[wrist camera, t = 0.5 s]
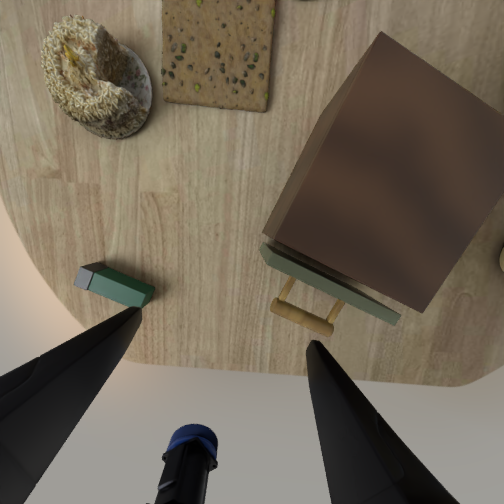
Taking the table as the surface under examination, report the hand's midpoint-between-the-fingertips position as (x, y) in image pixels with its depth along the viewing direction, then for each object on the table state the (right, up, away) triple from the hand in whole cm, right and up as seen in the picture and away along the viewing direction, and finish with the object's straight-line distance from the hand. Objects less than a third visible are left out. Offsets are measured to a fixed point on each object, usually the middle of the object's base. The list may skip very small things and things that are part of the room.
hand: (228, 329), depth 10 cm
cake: (-15, +22, +11) cm, 29 cm away
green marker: (-16, 0, +15) cm, 22 cm away
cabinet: (+13, +10, +14) cm, 22 cm away
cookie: (-3, +27, +11) cm, 29 cm away
